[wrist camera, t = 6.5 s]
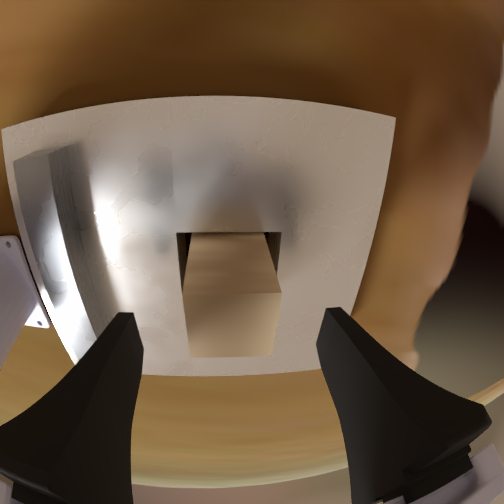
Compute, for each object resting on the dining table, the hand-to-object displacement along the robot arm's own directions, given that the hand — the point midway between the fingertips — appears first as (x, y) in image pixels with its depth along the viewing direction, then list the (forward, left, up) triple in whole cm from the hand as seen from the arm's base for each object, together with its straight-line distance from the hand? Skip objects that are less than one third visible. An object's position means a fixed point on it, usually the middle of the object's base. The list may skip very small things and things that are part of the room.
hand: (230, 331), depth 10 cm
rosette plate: (-2, 0, -7) cm, 7 cm away
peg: (0, +1, -7) cm, 7 cm away
